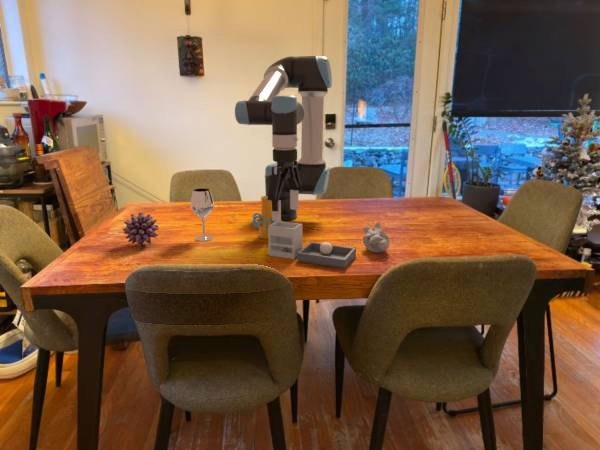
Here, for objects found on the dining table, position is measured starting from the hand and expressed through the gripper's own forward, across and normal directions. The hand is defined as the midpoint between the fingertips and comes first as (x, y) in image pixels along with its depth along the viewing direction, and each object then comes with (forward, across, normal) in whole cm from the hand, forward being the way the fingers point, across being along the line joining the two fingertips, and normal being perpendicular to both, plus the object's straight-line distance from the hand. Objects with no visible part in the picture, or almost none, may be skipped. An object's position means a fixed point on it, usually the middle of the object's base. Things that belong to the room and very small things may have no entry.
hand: (285, 214), depth 138 cm
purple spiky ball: (+13, -13, +49) cm, 52 cm away
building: (+13, -1, 0) cm, 13 cm away
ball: (+11, +3, -13) cm, 17 cm away
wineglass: (+14, +2, +34) cm, 37 cm away
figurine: (+14, +14, -26) cm, 33 cm away
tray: (+13, 0, -14) cm, 19 cm away
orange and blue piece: (+14, +13, +14) cm, 24 cm away
